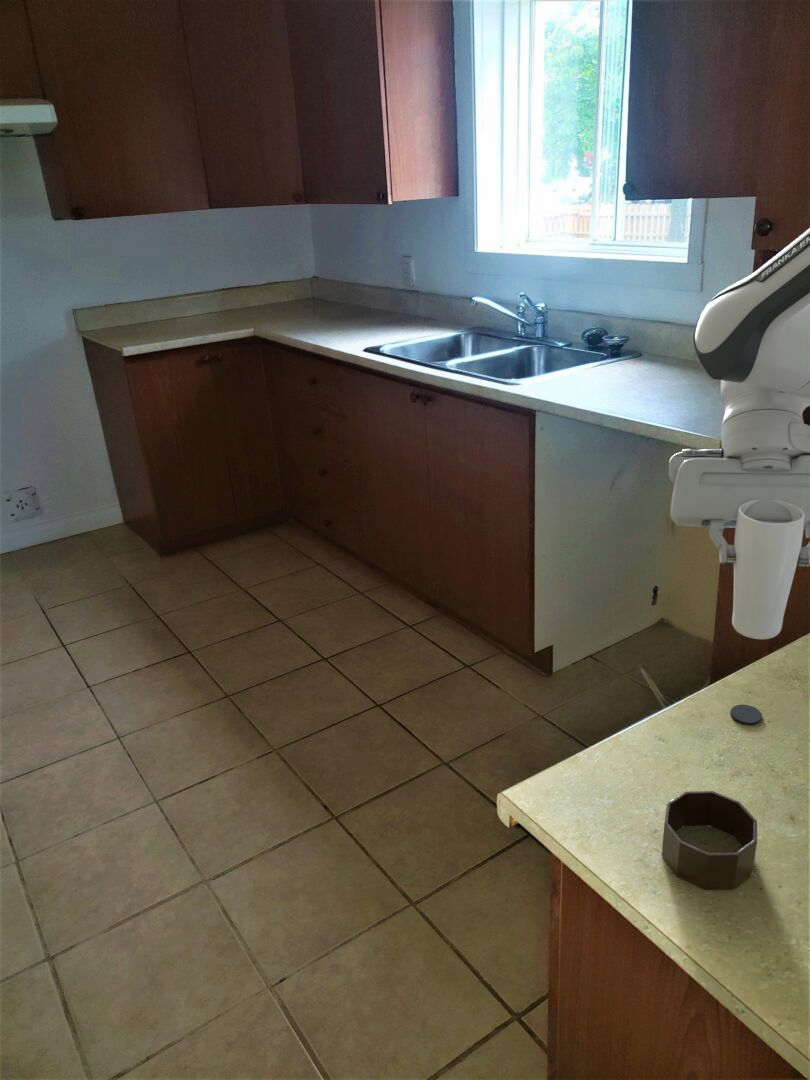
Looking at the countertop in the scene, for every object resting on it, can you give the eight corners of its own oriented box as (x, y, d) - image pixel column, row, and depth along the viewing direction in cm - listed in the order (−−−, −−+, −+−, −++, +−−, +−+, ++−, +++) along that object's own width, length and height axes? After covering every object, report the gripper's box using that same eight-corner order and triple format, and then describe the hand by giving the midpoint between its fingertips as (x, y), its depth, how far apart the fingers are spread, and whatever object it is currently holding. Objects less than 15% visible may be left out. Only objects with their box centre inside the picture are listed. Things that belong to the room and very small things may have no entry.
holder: (752, 832, 84) (757, 799, 82) (751, 900, 77) (757, 865, 75) (666, 815, 87) (669, 782, 85) (658, 879, 80) (661, 845, 78)
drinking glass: (800, 631, 93) (820, 512, 87) (761, 652, 90) (778, 530, 84) (750, 607, 99) (764, 493, 92) (712, 626, 96) (724, 509, 89)
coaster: (761, 709, 101) (761, 707, 101) (761, 727, 98) (762, 725, 98) (730, 704, 103) (730, 702, 102) (729, 721, 100) (730, 719, 100)
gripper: (670, 437, 94) (670, 551, 90) (867, 438, 89) (876, 558, 85) (666, 460, 100) (665, 568, 95) (850, 461, 95) (858, 575, 91)
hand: (766, 563), depth 90 cm, fingers closed on drinking glass, 6 cm apart
